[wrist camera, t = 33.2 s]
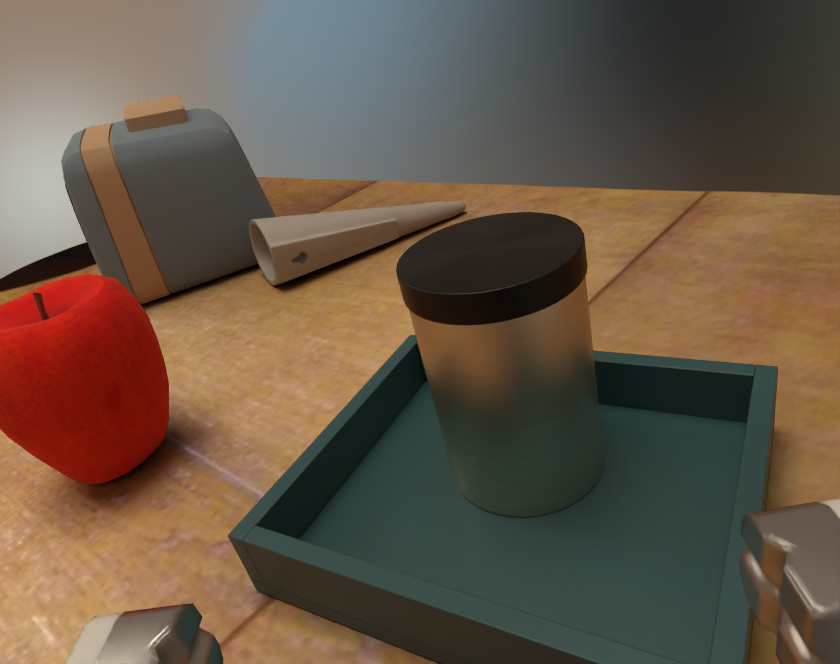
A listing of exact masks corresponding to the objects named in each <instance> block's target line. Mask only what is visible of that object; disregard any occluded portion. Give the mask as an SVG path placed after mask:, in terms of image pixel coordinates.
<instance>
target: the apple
mask: <svg viewBox="0 0 840 664" xmlns="http://www.w3.org/2000/svg"><path fill="white" fill-rule="evenodd" d="M168 422H169V382H168V377H167V372H166V366H165V362H164V359H163V355H162V352H161V349H160V346H159V343H158V340H157V337H156V334H155V332H154V329H153V327H152V325H151V322H150V320H149V318H148V315H147V314H146V312H145V311H144V309H143V307H142V306H141V304H140V303H139V301H138V300H137V298H136V297H135V296H134V295H133V294H132V293H131V292H129V291H128V290H127V289H126V288H125V287H124V286H123V285H122V284H121V283H120V282H119V281H118V280H117V279H116V278H112V277H105V276H99V275H91V274H86V275H80V276H75V277H69V278H66V279H62V280H59V281H56V282H52V283H49V284H46V285H43V286H41V287H39V288H37V289H35V290H33V291H32V292H30V293H28V294H26V295H23V296H21V297H19V298H17V299H15V300H13V301H10V302H8V303H6V304H4V305H2V306H0V429H1V430H2V431H3V432H4V433H5V434H6V435H7V436H8V437H9V438H10V439H11V440H13V441H14V442H15V443H17V444H18V445H20V446H21V447H22V448H24V449H25V450H26V451H28V452H29V453H30V454H32V455H33V456H34V457H36V458H38V459H39V460H41V461H43V462H44V463H46V464H47V465H49V466H51V467H52V468H54V469H56V470H57V471H59V472H61V473H62V474H64V475H66V476H68V477H70V478H72V479H74V480H76V481H78V482H81V483H86V484H91V485H95V484H101V483H106V482H108V481H110V480H113V479H115V478H117V477H119V476H122V475H124V474H126V473H128V472H129V471H130V470H132V469H133V468H135V467H136V466H137V465H139V464H140V463H142V462H143V461H144V460H145V459H146V458H147V457H149V456H150V455H151V454H152V453H153V452H154V451H155V450H156V449H157V448H158V446H159V445H160V443H161V442H162V441H163V439H164V437H165V433H166V429H167V426H168Z"/></svg>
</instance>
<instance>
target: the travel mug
mask: <svg viewBox="0 0 840 664" xmlns="http://www.w3.org/2000/svg"><path fill="white" fill-rule="evenodd" d="M396 272H397V277H398V281H399V285H400V288H401V292H402V296H403V300H404V302H405V304H406V306H407V307H408V309H409V312H410V315H411V319H412V323H413V327H414V330H415V334H416V338H417V342H418V345H419V349H420V353H421V357H422V360H423V364H424V368H425V372H426V376H427V379H428V383H429V387H430V391H431V394H432V398H433V402H434V406H435V409H436V413H437V417H438V421H439V424H440V428H441V432H442V436H443V440H444V443H445V447H446V451H447V455H448V458H449V462H450V466H451V470H452V473H453V477H454V480H455V483H456V485H457V487H458V489H459V490H460V492H461V493H462V494H463V495H464V496H465V497H466V498H467V499H468V500H469V501H471V502H472V503H473V504H475V505H476V506H478V507H480V508H482V509H484V510H487V511H489V512H492V513H496V514H499V515H505V516H513V517H531V516H539V515H544V514H548V513H552V512H555V511H558V510H561V509H563V508H565V507H568V506H570V505H572V504H573V503H575V502H577V501H578V500H580V499H581V498H582V497H583V496H585V495H586V494H587V493H588V492H589V491H590V490H591V489H592V488H593V487H594V485H595V484H596V482H597V481H598V479H599V477H600V475H601V473H602V470H603V466H604V449H603V440H602V430H601V421H600V411H599V402H598V392H597V382H596V373H595V363H594V354H593V344H592V335H591V325H590V315H589V306H588V296H587V287H586V277H585V275H586V273H587V258H586V249H585V239H584V233H583V231H582V230H581V228H580V227H579V226H578V225H577V224H576V223H574V222H573V221H571V220H569V219H566V218H564V217H561V216H557V215H552V214H546V213H534V212H518V213H505V214H496V215H490V216H485V217H480V218H475V219H471V220H467V221H464V222H460V223H457V224H454V225H451V226H449V227H446V228H443V229H441V230H439V231H436V232H434V233H432V234H430V235H428V236H426V237H425V238H423V239H421V240H420V241H418V242H417V243H415V244H414V245H412V246H411V247H410V248H409V249H408V250H407V251H406V252H405V253H404V254H403V255H402V256H401V258H400V259H399V261H398V263H397V268H396Z"/></svg>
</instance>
